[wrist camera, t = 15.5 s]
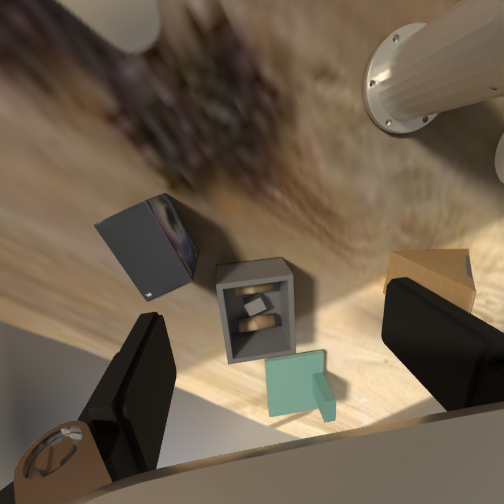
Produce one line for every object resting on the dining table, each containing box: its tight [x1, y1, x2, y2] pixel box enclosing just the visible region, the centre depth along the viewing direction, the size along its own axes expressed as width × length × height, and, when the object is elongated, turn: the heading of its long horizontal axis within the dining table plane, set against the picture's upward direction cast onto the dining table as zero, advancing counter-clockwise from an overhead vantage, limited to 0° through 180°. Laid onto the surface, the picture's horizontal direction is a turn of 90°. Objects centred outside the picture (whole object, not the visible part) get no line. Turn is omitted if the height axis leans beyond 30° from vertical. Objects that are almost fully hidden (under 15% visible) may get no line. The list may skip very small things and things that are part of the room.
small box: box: [94, 193, 199, 302], centre depth 31 cm, size 11×6×10 cm, turn 24°
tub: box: [216, 257, 296, 364], centre depth 38 cm, size 11×14×7 cm
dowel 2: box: [238, 313, 275, 333], centre depth 41 cm, size 6×2×2 cm, turn 95°
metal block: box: [243, 293, 266, 316], centre depth 40 cm, size 3×2×2 cm
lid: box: [265, 350, 336, 422], centre depth 45 cm, size 11×14×8 cm
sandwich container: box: [383, 249, 476, 314], centre depth 37 cm, size 9×15×15 cm, turn 90°
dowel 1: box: [234, 283, 273, 296], centre depth 39 cm, size 6×2×2 cm, turn 95°
